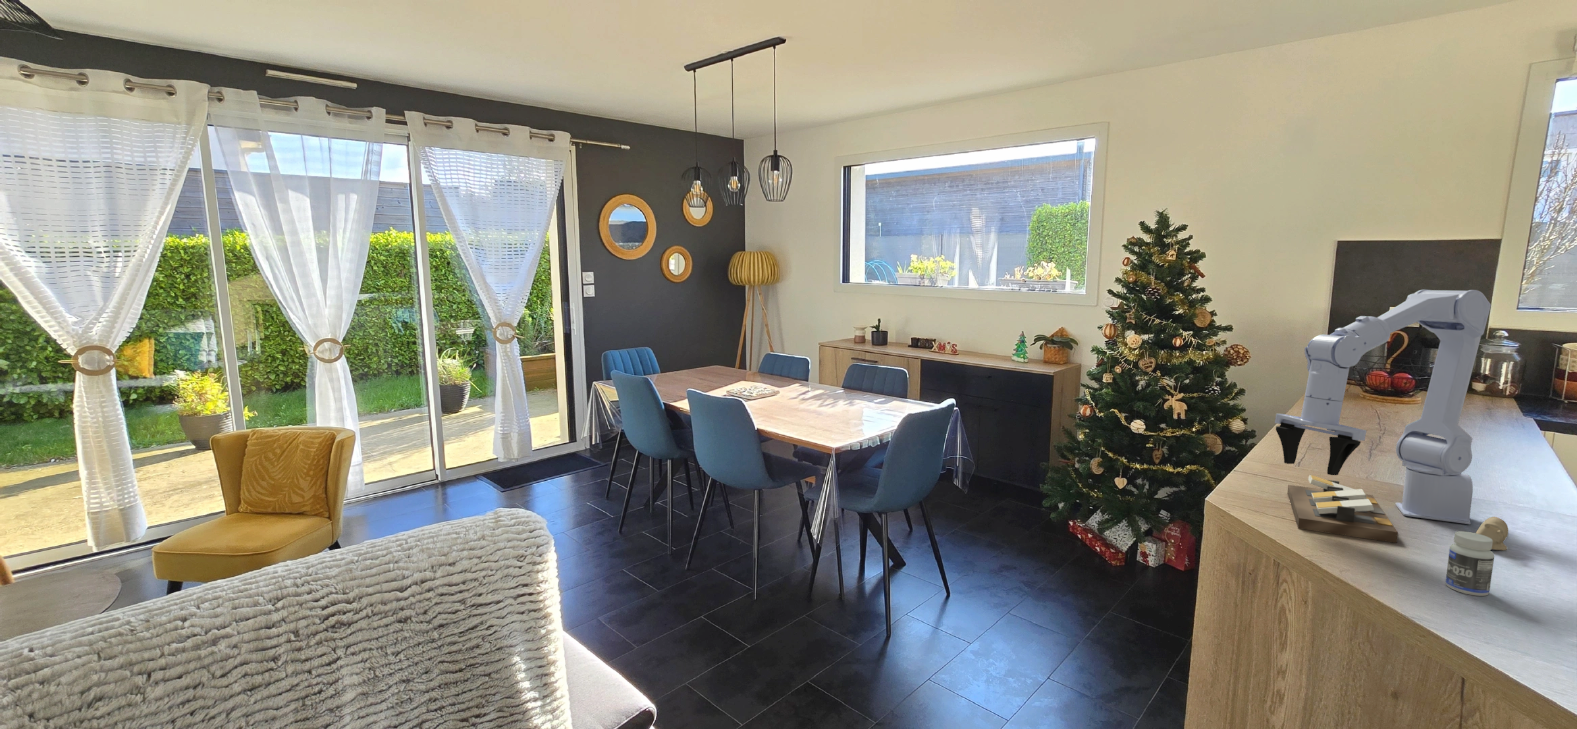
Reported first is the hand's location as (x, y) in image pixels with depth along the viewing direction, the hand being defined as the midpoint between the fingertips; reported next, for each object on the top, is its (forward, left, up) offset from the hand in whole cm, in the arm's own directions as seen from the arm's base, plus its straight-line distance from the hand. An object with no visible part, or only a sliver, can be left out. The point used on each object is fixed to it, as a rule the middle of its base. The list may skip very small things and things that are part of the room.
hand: (1310, 468), depth 128 cm
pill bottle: (-18, +22, -11) cm, 30 cm away
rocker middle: (-6, -8, -7) cm, 12 cm away
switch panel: (-6, -8, -11) cm, 14 cm away
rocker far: (-6, -15, -7) cm, 17 cm away
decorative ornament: (-25, -2, -11) cm, 28 cm away
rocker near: (-6, -1, -7) cm, 9 cm away
